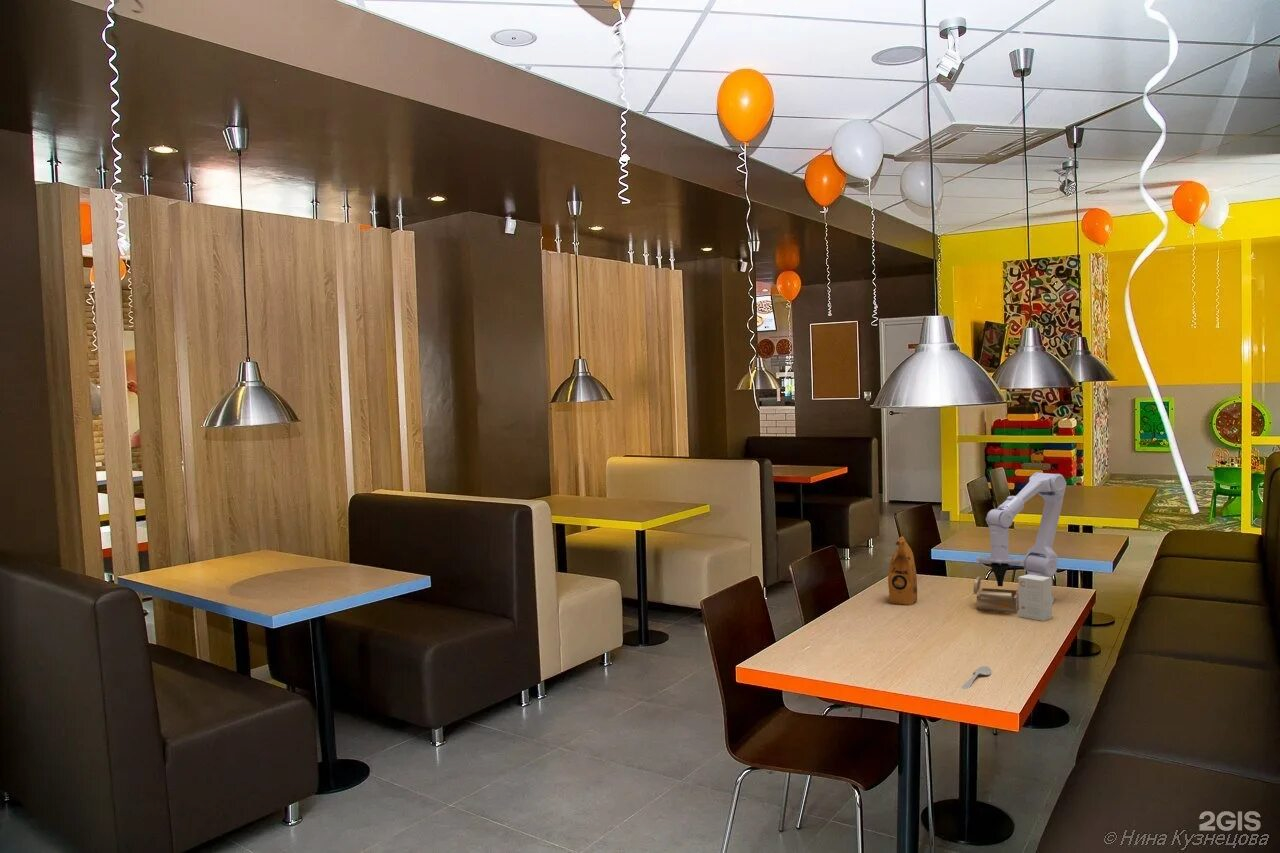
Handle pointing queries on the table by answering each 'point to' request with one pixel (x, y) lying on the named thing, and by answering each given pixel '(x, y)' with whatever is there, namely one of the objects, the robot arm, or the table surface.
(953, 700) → the table surface
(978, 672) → the spoon
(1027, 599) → the small box
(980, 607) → the carton
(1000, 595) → the front flap
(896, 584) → the coffee package
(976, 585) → the side flap
